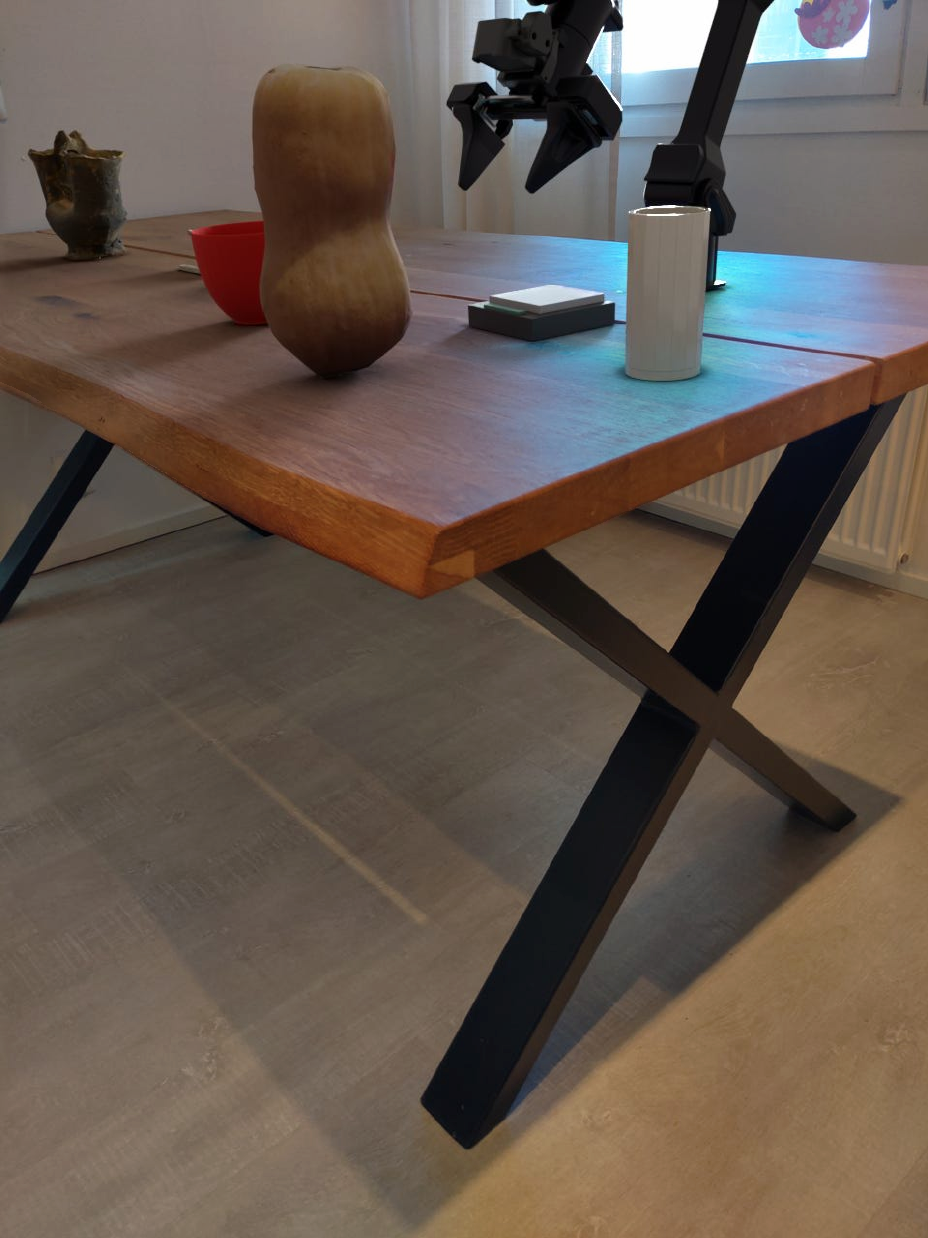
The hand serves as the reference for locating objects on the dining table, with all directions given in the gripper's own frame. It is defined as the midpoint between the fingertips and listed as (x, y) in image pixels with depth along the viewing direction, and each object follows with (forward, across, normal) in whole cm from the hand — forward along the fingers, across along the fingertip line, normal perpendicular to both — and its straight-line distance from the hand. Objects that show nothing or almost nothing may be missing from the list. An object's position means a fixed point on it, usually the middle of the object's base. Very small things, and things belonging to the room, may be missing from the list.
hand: (494, 189), depth 96 cm
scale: (+7, 0, +14) cm, 15 cm away
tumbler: (+12, +22, +8) cm, 26 cm away
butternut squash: (+23, -1, -6) cm, 23 cm away
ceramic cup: (+17, -32, +1) cm, 36 cm away
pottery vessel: (+9, -105, +12) cm, 106 cm away
